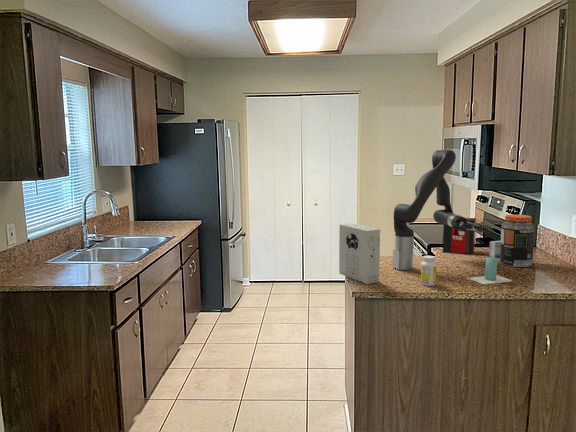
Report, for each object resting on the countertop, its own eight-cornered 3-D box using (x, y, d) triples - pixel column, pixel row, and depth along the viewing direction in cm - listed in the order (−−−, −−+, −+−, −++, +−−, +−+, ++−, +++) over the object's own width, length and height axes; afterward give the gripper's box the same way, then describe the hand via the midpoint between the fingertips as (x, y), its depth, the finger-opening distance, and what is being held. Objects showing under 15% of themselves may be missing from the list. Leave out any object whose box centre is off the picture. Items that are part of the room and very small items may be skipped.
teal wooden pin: (489, 280, 218) (491, 259, 216) (482, 278, 222) (483, 257, 221) (498, 280, 219) (500, 259, 218) (490, 277, 224) (492, 256, 223)
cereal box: (379, 282, 220) (380, 229, 216) (366, 284, 216) (367, 230, 212) (351, 271, 238) (351, 222, 234) (338, 273, 234) (339, 224, 231)
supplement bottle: (433, 281, 219) (434, 254, 217) (437, 286, 212) (439, 258, 210) (418, 282, 219) (419, 255, 217) (423, 286, 212) (424, 258, 210)
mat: (483, 284, 214) (483, 283, 214) (466, 277, 225) (466, 276, 225) (512, 281, 218) (512, 280, 218) (494, 274, 230) (494, 273, 230)
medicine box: (494, 257, 264) (494, 242, 263) (488, 255, 269) (489, 240, 267) (506, 256, 266) (506, 241, 265) (500, 254, 271) (501, 240, 269)
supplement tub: (531, 262, 253) (534, 214, 250) (533, 269, 239) (537, 218, 235) (499, 259, 260) (501, 213, 256) (499, 266, 245) (502, 217, 242)
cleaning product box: (442, 252, 278) (444, 218, 275) (444, 249, 286) (446, 216, 283) (472, 255, 271) (474, 220, 268) (474, 251, 279) (475, 218, 276)
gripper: (445, 215, 243) (460, 222, 227) (471, 215, 245) (488, 222, 229) (443, 229, 244) (459, 237, 229) (469, 229, 246) (486, 237, 230)
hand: (473, 229), depth 229 cm, fingers open, 8 cm apart
